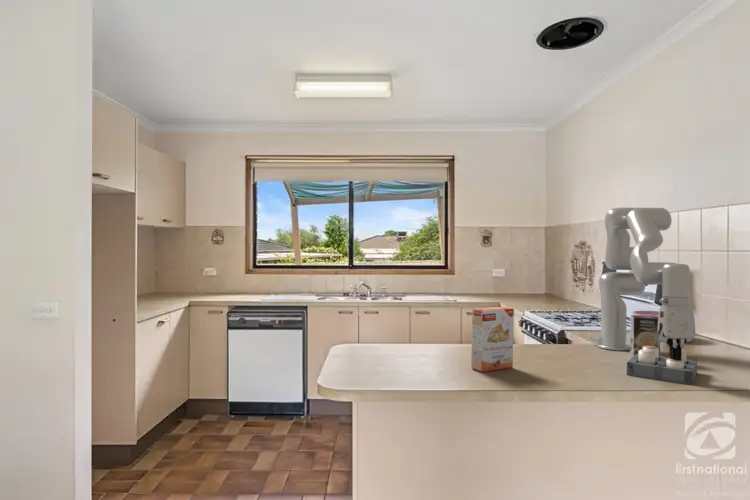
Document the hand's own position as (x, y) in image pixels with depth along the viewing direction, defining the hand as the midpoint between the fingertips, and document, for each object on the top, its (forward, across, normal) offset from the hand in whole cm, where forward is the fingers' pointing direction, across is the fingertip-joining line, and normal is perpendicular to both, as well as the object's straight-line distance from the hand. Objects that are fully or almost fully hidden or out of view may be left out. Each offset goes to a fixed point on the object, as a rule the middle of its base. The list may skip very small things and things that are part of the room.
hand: (675, 359), depth 154 cm
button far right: (+4, +6, +6) cm, 9 cm away
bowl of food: (+6, +44, +65) cm, 79 cm away
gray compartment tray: (+6, 0, +6) cm, 8 cm away
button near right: (+5, 0, 0) cm, 5 cm away
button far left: (+4, 0, +12) cm, 12 cm away
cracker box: (+6, -54, +19) cm, 57 cm away
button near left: (+4, -6, +6) cm, 9 cm away
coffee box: (+6, +8, +26) cm, 28 cm away
